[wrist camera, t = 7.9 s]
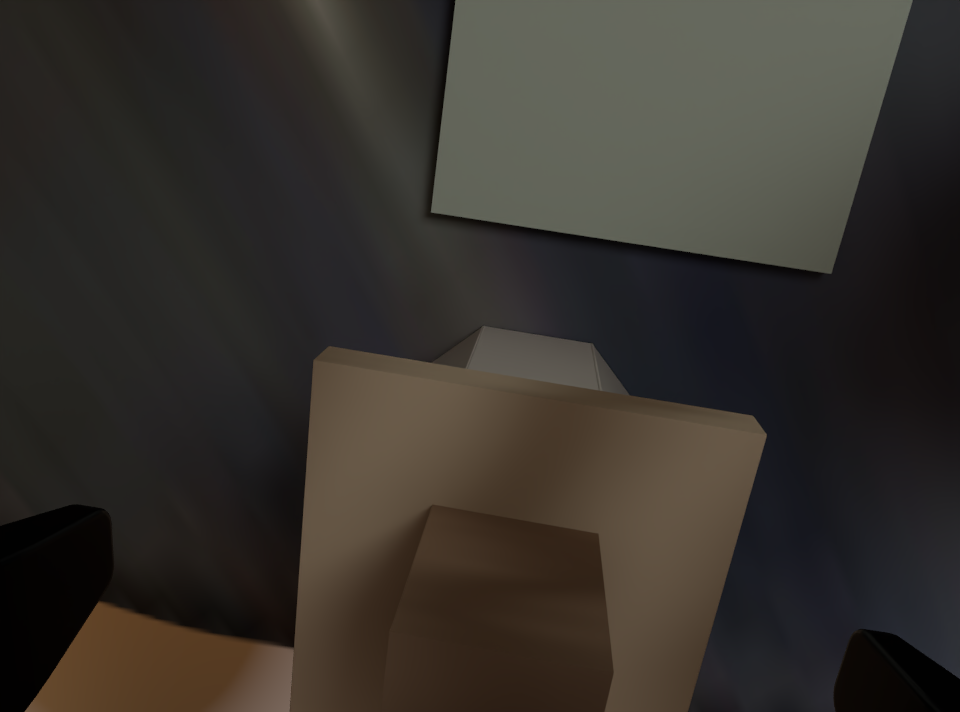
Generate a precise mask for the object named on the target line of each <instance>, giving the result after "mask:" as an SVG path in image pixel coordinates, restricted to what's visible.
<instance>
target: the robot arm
mask: <svg viewBox="0 0 960 712" xmlns="http://www.w3.org/2000/svg"><path fill="white" fill-rule="evenodd" d="M113 570H114V557H113V540H112V523H111V517H110V515H109V513H108V512H107V511H106V510H104V509H102V508H96V507H90V506H84V505H78V504H77V505H69V506H65V507H62V508H59V509H55V510H52V511H49V512H45V513H42V514H39V515H35V516H32V517H29V518H25V519H22V520H19V521H15V522H12V523H9V524H5V525H2V526H0V712H25V710H26V709H27V708H28V706H29V705H30V704H31V702H32V701H33V700H34V698H35V697H36V696H37V694H38V693H39V691H40V690H41V688H42V687H43V686H44V684H45V683H46V681H47V680H48V678H49V677H50V675H51V674H52V672H53V671H54V669H55V668H56V666H57V665H58V663H59V661H60V660H61V658H62V657H63V655H64V654H65V652H66V651H67V649H68V648H69V646H70V644H71V643H72V641H73V640H74V638H75V637H76V635H77V634H78V632H79V631H80V629H81V628H82V626H83V624H84V623H85V621H86V620H87V618H88V617H89V615H90V614H91V612H92V611H93V609H94V608H95V606H96V605H97V603H98V601H99V600H100V598H101V597H102V595H103V594H104V592H105V591H106V589H107V587H108V586H109V583H110V581H111V579H112V575H113ZM834 707H835V711H836V712H960V679H959V678H957V677H956V676H955V675H953V674H952V673H950V672H949V671H947V670H946V669H945V668H943V667H942V666H940V665H939V664H937V663H936V662H934V661H933V660H932V659H930V658H929V657H927V656H926V655H924V654H923V653H922V652H920V651H919V650H917V649H916V648H914V647H913V646H911V645H910V644H909V643H907V642H906V641H904V640H903V639H901V638H900V637H898V636H897V635H894V634H891V633H886V632H879V631H873V630H866V629H859V630H857V631H855V632H854V633H853V634H852V635H851V637H850V640H849V642H848V645H847V648H846V651H845V654H844V657H843V661H842V664H841V667H840V670H839V673H838V676H837V679H836V682H835V686H834Z"/></svg>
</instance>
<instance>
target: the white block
mask: <svg viewBox="0 0 960 712" xmlns="http://www.w3.org/2000/svg"><path fill="white" fill-rule="evenodd" d="M432 363H434V364H440V365H447V366H453V367H459V368H465V369H471V370H477V371H483V372H489V373H495V374H501V375H507V376H514V377H520V378H526V379H532V380H538V381H544V382H550V383H556V384H562V385H568V386H575V387H581V388H587V389H593V390H599V391H605V392H611V393H617V394H623V395H629V394H628V392H627V391H626V390H625V388H624V387H623V385H622V384H621V383H620V381H619V380H618V379H617V377H616V376H615V374H614V373H613V372H612V370H611V369H610V368H609V366H608V365H607V363H606V362H605V361H604V359H603V358H602V357H601V355H600V354H599V352H598V351H597V350H596V348H595V347H594V345H593V344H592V343H585V342H579V341H573V340H566V339H560V338H554V337H548V336H542V335H536V334H530V333H523V332H517V331H511V330H505V329H499V328H493V327H486V326H485V325H484V326H482V327H481V328H480V329H479V330H477V331H476V332H474V333H473V334H472V335H470V336H469V337H467V338H466V339H464V340H463V341H462V342H460V343H459V344H457V345H456V346H455V347H453V348H452V349H450V350H449V351H447V352H446V353H445V354H443V355H442V356H440V357H439V358H438V359H436V360H435V361H433V362H432ZM629 396H630V395H629Z"/></svg>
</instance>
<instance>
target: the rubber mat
mask: <svg viewBox="0 0 960 712" xmlns="http://www.w3.org/2000/svg"><path fill="white" fill-rule="evenodd" d="M912 1H913V0H456V1H455V10H454V18H453V27H452V35H451V44H450V53H449V61H448V70H447V78H446V87H445V96H444V104H443V113H442V121H441V130H440V139H439V147H438V156H437V164H436V173H435V182H434V190H433V199H432V207H431V212H432V213H438V214H445V215H451V216H458V217H464V218H471V219H477V220H484V221H490V222H497V223H503V224H510V225H516V226H523V227H529V228H536V229H542V230H549V231H555V232H562V233H568V234H575V235H581V236H588V237H594V238H601V239H607V240H614V241H620V242H627V243H633V244H640V245H646V246H653V247H659V248H666V249H672V250H679V251H685V252H692V253H698V254H705V255H711V256H718V257H724V258H731V259H737V260H744V261H750V262H757V263H763V264H770V265H776V266H783V267H789V268H796V269H802V270H809V271H815V272H822V273H828V274H831V273H832V270H833V267H834V263H835V260H836V257H837V253H838V250H839V246H840V243H841V240H842V236H843V233H844V230H845V226H846V223H847V219H848V216H849V213H850V209H851V206H852V203H853V199H854V196H855V193H856V189H857V186H858V182H859V179H860V176H861V172H862V169H863V166H864V162H865V159H866V155H867V152H868V149H869V145H870V142H871V139H872V135H873V132H874V129H875V125H876V122H877V118H878V115H879V112H880V108H881V105H882V102H883V98H884V95H885V91H886V88H887V85H888V81H889V78H890V75H891V71H892V68H893V65H894V61H895V58H896V54H897V51H898V48H899V44H900V41H901V38H902V34H903V31H904V27H905V24H906V21H907V17H908V14H909V11H910V7H911V4H912Z"/></svg>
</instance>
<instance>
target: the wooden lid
mask: <svg viewBox="0 0 960 712" xmlns="http://www.w3.org/2000/svg"><path fill="white" fill-rule="evenodd" d="M766 437H767V434H766V433H765V432H764V430H763V429H762V427H761V426H760V425H759V423H758V422H757V421H756V419H755V418H754V416H751V415H745V414H739V413H733V412H727V411H721V410H715V409H709V408H703V407H697V406H690V405H684V404H678V403H672V402H666V401H660V400H654V399H648V398H642V397H636V396H629V395H623V394H617V393H611V392H605V391H599V390H593V389H587V388H581V387H575V386H568V385H562V384H556V383H550V382H544V381H538V380H532V379H526V378H520V377H514V376H507V375H501V374H495V373H489V372H483V371H477V370H471V369H465V368H459V367H453V366H447V365H440V364H434V363H428V362H422V361H416V360H410V359H404V358H398V357H392V356H386V355H379V354H373V353H367V352H361V351H355V350H349V349H343V348H337V347H331V346H329V347H328V348H326V349H325V350H324V351H323V352H322V353H321V354H320V355H319V356H318V357H317V358H315V359H314V363H313V377H312V392H311V407H310V422H309V436H308V451H307V466H306V480H305V495H304V510H303V524H302V539H301V554H300V569H299V583H298V598H297V613H296V627H295V642H294V657H293V673H292V686H291V701H290V712H688V709H689V705H690V702H691V698H692V695H693V691H694V688H695V684H696V681H697V677H698V674H699V670H700V667H701V664H702V660H703V657H704V653H705V650H706V646H707V643H708V639H709V636H710V632H711V629H712V625H713V622H714V618H715V615H716V611H717V608H718V604H719V601H720V597H721V594H722V590H723V587H724V583H725V580H726V576H727V573H728V569H729V566H730V562H731V559H732V555H733V552H734V548H735V545H736V541H737V538H738V534H739V531H740V527H741V524H742V520H743V517H744V513H745V510H746V507H747V503H748V500H749V496H750V493H751V489H752V486H753V482H754V479H755V475H756V472H757V468H758V465H759V461H760V458H761V454H762V451H763V447H764V444H765V440H766Z"/></svg>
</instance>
